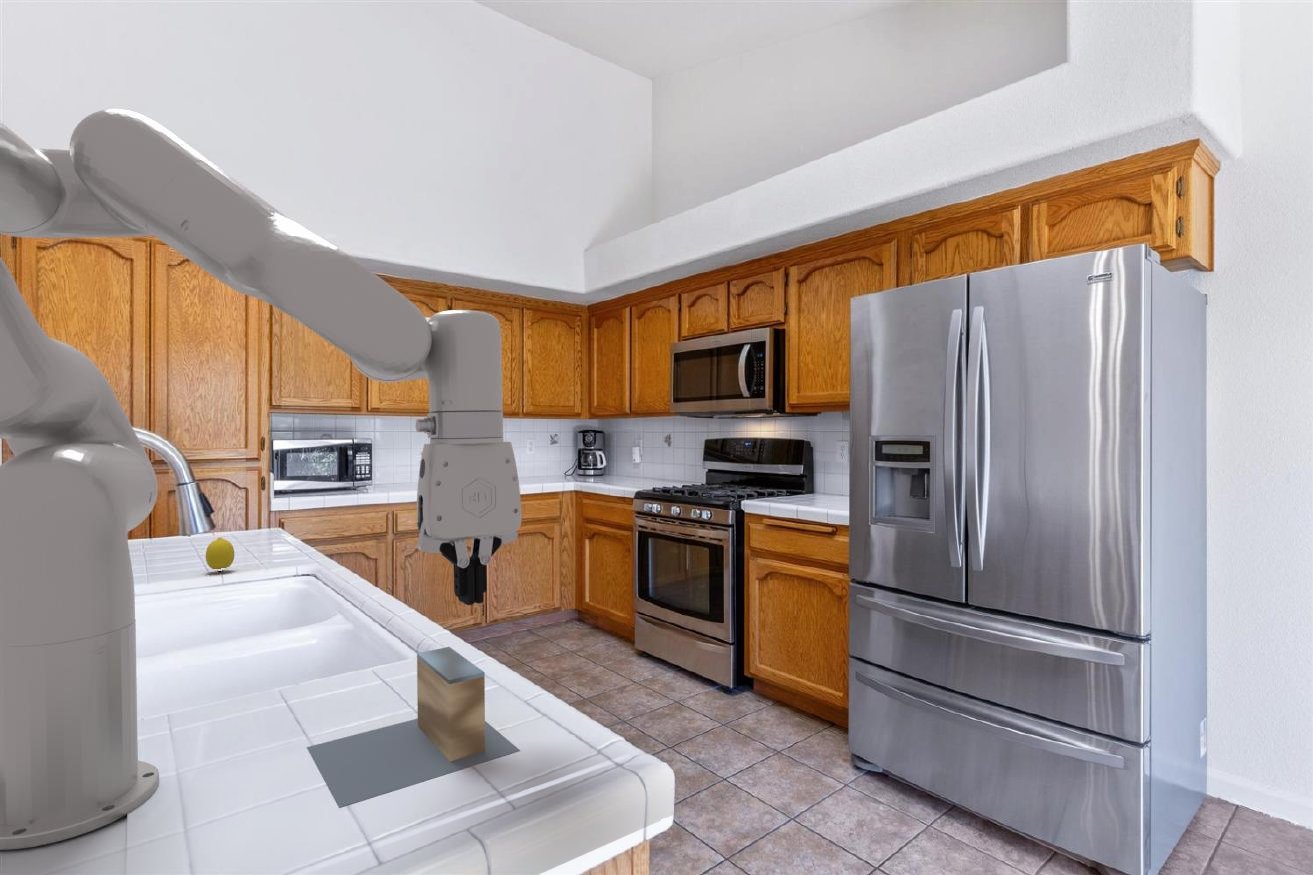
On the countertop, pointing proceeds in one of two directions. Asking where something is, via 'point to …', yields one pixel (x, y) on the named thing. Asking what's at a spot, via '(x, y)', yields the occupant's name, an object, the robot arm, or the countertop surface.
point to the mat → (392, 760)
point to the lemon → (219, 554)
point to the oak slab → (451, 702)
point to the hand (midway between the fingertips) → (470, 601)
